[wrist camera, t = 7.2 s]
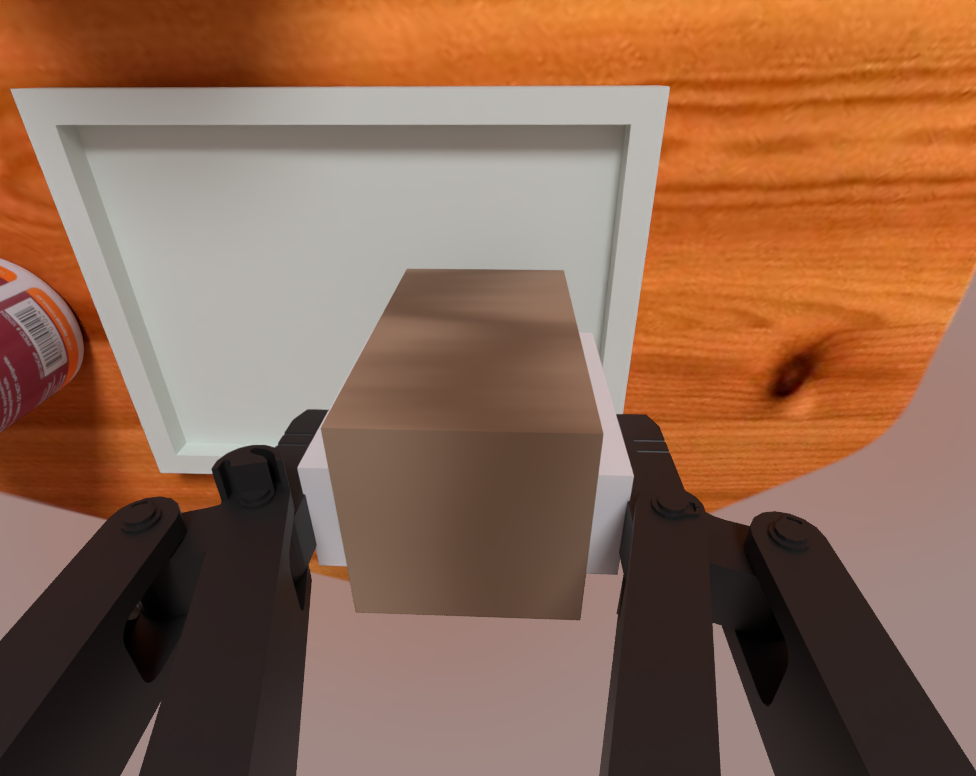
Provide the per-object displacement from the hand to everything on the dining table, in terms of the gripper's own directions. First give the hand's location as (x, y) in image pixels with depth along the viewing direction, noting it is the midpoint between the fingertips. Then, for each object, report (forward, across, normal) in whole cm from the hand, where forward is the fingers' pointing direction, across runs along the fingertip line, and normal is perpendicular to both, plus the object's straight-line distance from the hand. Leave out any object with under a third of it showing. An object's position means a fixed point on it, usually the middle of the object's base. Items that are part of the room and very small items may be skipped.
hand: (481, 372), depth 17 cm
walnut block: (+2, 0, 0) cm, 2 cm away
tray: (+5, -5, 0) cm, 7 cm away
